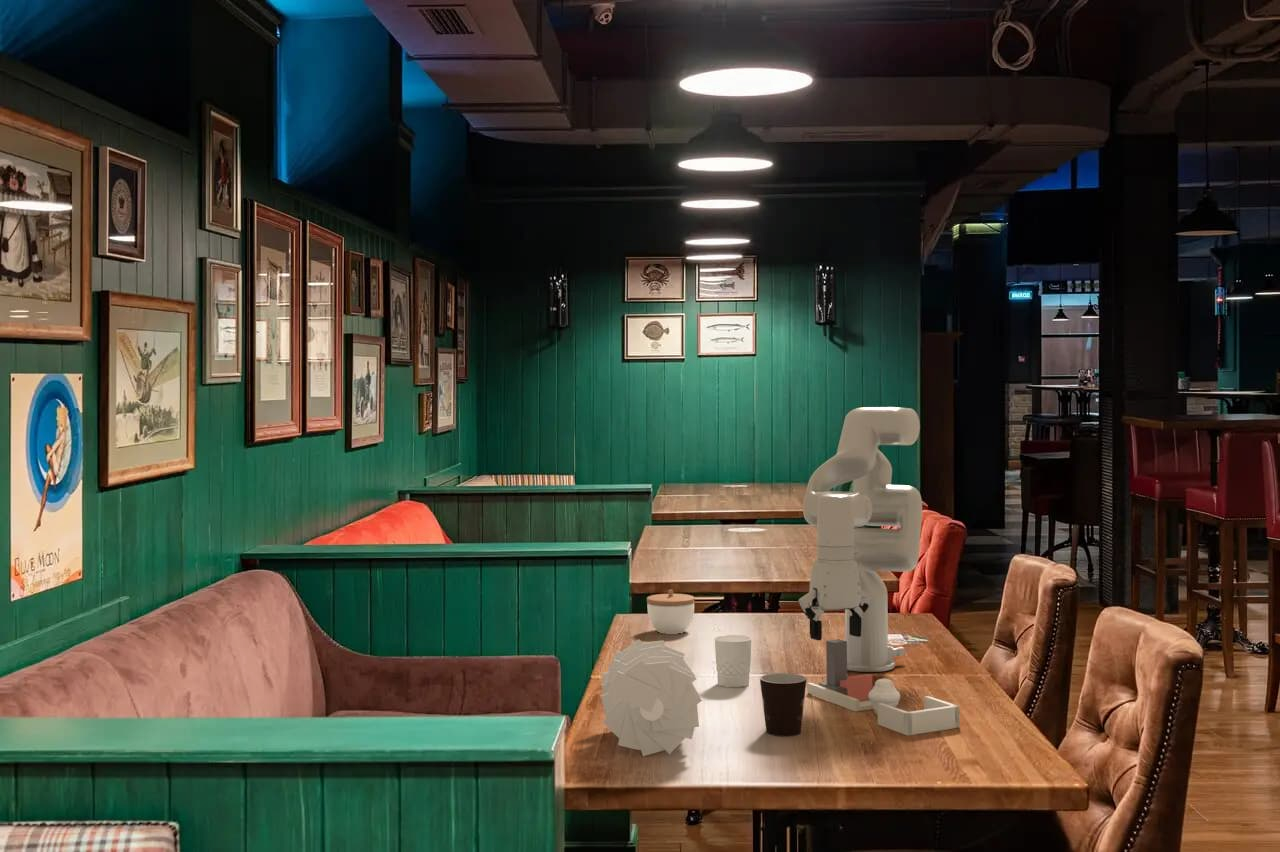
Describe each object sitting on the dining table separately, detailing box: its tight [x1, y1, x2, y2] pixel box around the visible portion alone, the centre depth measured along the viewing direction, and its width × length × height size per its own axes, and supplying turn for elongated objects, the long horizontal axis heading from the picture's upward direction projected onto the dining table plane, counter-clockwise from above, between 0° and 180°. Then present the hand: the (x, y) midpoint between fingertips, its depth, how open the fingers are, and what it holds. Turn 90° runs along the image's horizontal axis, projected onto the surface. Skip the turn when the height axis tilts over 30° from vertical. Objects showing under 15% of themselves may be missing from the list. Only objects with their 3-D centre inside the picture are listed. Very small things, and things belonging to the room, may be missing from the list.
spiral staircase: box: [600, 638, 703, 757], centre depth 233 cm, size 18×18×25 cm
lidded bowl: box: [646, 589, 696, 635], centre depth 339 cm, size 13×13×11 cm
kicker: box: [818, 638, 873, 700], centre depth 263 cm, size 5×12×10 cm, turn 26°
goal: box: [877, 695, 960, 736], centre depth 242 cm, size 12×9×4 cm
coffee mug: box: [759, 672, 808, 737], centre depth 240 cm, size 12×9×10 cm
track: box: [806, 682, 874, 713], centre depth 263 cm, size 8×17×2 cm, turn 26°
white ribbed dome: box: [868, 677, 901, 716], centre depth 251 cm, size 6×6×7 cm
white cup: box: [714, 634, 752, 688], centre depth 278 cm, size 8×8×10 cm
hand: (835, 637), depth 265 cm, fingers open, 9 cm apart
